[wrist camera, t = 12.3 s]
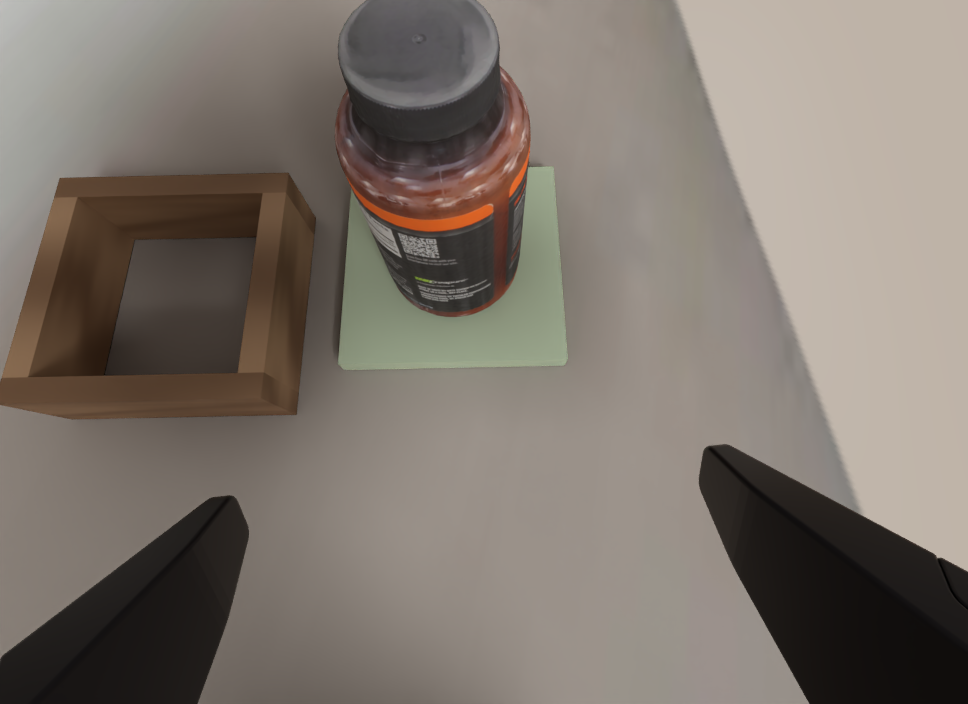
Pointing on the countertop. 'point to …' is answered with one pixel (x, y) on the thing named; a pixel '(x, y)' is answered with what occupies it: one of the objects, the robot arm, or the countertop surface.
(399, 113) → the supplement bottle
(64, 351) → the walnut collar
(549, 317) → the sage rubber mat
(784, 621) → the robot arm
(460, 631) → the countertop surface
